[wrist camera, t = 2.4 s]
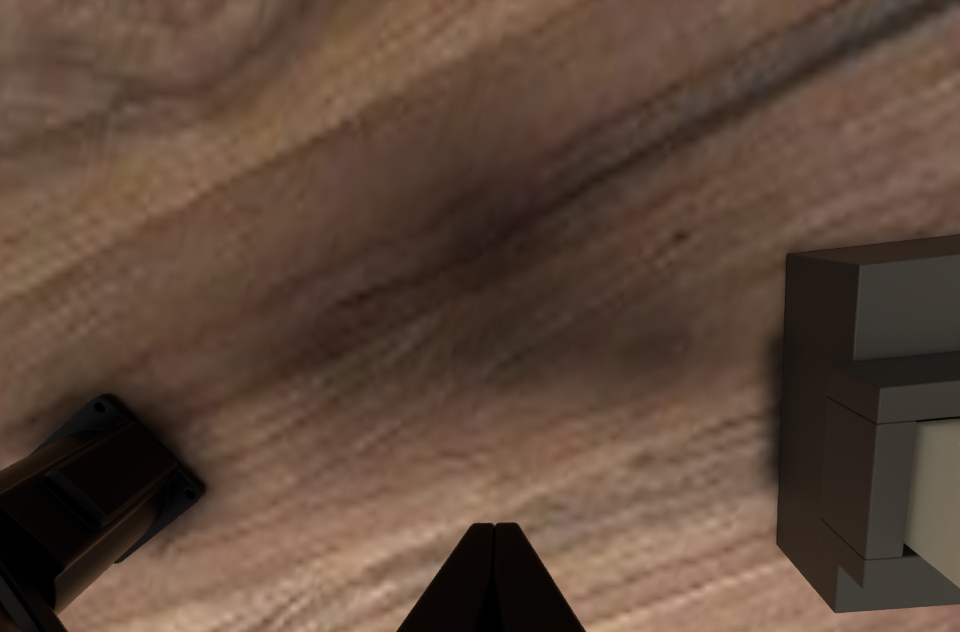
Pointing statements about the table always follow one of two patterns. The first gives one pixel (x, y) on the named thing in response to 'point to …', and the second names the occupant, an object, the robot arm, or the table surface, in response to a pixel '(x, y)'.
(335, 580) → the table surface
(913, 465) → the cream block
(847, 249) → the stepped base
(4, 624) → the robot arm
